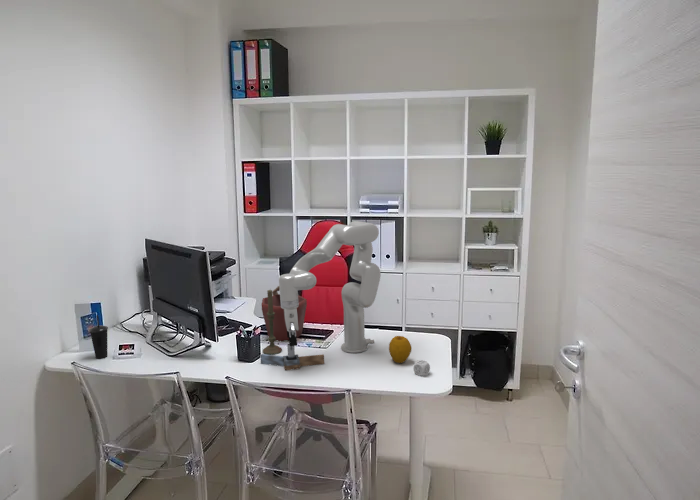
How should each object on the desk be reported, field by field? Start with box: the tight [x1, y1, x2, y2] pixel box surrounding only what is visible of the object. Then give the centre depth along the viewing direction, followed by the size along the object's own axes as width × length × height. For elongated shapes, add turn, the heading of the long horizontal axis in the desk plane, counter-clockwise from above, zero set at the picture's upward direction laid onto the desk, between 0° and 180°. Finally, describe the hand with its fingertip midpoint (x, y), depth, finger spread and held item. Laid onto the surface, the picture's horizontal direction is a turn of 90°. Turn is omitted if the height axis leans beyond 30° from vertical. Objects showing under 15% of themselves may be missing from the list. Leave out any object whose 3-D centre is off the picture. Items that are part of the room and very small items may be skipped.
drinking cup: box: [88, 314, 109, 360], centre depth 230 cm, size 8×8×20 cm
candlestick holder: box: [262, 289, 283, 355], centre depth 234 cm, size 9×9×30 cm
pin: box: [286, 343, 296, 360], centre depth 218 cm, size 3×3×10 cm
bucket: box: [261, 285, 308, 342], centre depth 255 cm, size 24×22×25 cm
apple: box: [388, 335, 412, 364], centre depth 221 cm, size 10×10×12 cm
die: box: [413, 359, 431, 377], centre depth 209 cm, size 5×5×5 cm
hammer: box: [259, 353, 325, 371], centre depth 221 cm, size 27×11×4 cm, turn 102°
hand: (292, 341), depth 217 cm, fingers open, 9 cm apart
